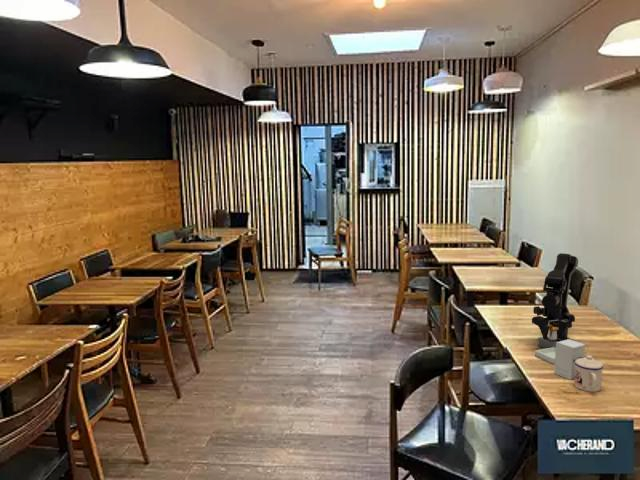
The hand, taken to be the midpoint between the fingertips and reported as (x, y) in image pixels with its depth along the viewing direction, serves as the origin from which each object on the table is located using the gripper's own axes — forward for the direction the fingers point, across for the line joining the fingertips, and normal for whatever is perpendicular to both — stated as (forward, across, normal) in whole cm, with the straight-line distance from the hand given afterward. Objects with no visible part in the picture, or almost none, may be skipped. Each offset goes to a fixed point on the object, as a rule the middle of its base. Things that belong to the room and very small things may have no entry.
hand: (552, 338), depth 222 cm
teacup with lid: (+5, +18, +36) cm, 41 cm away
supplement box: (+5, +16, +24) cm, 29 cm away
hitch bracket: (+4, 0, 0) cm, 4 cm away
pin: (+4, 0, 0) cm, 4 cm away
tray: (+4, +8, +10) cm, 14 cm away
